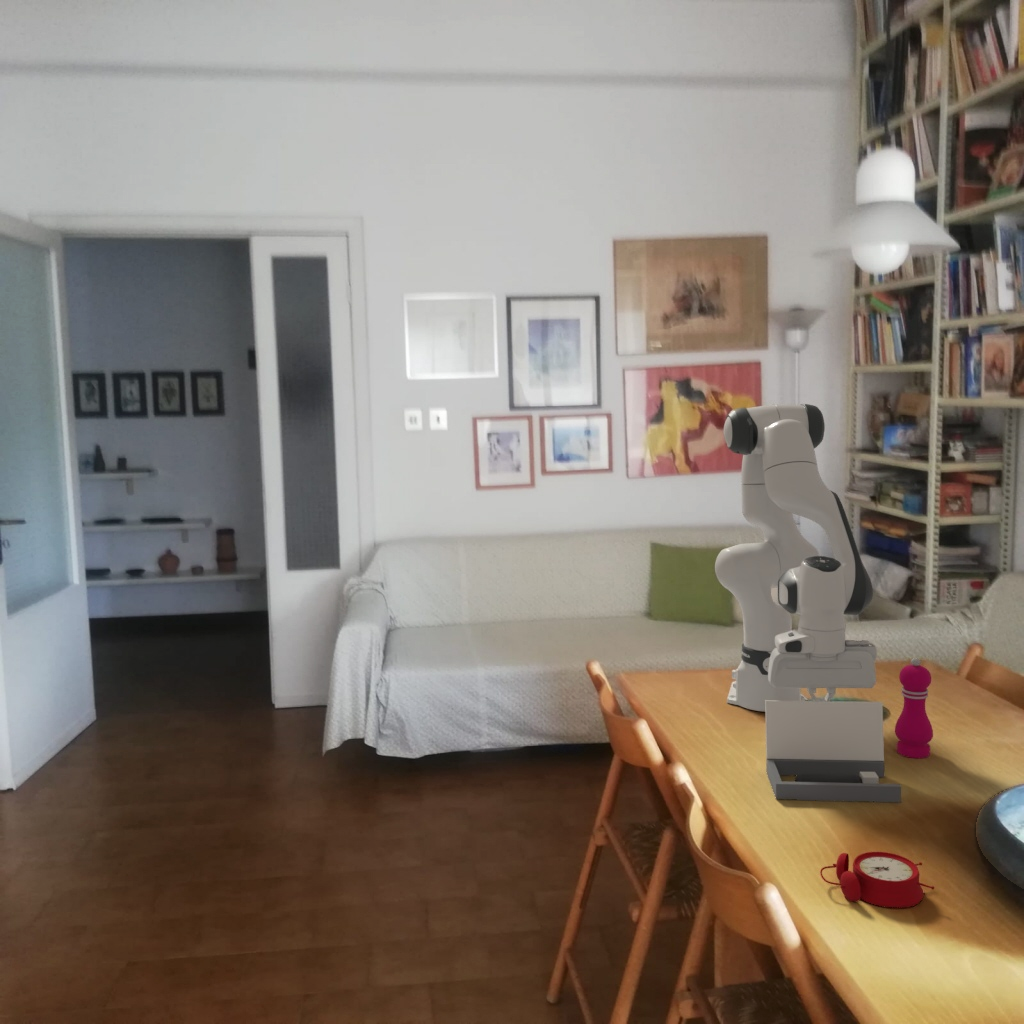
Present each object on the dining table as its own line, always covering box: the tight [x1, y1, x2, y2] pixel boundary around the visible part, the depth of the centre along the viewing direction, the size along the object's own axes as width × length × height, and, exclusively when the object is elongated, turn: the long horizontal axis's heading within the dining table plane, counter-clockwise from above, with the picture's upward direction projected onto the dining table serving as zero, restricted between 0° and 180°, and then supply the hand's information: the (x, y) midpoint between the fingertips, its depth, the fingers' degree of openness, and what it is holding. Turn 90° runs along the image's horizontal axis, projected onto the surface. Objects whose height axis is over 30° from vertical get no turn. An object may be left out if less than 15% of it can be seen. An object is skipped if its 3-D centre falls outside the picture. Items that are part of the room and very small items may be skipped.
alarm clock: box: [819, 851, 935, 909], centre depth 143 cm, size 10×6×15 cm
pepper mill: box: [894, 657, 934, 759], centre depth 193 cm, size 7×7×20 cm
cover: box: [764, 700, 885, 762], centre depth 185 cm, size 11×22×1 cm
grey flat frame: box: [765, 758, 902, 803], centre depth 179 cm, size 12×22×3 cm, turn 83°
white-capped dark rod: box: [794, 772, 880, 784], centre depth 179 cm, size 15×3×3 cm, turn 84°
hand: (821, 708), depth 188 cm, fingers closed
